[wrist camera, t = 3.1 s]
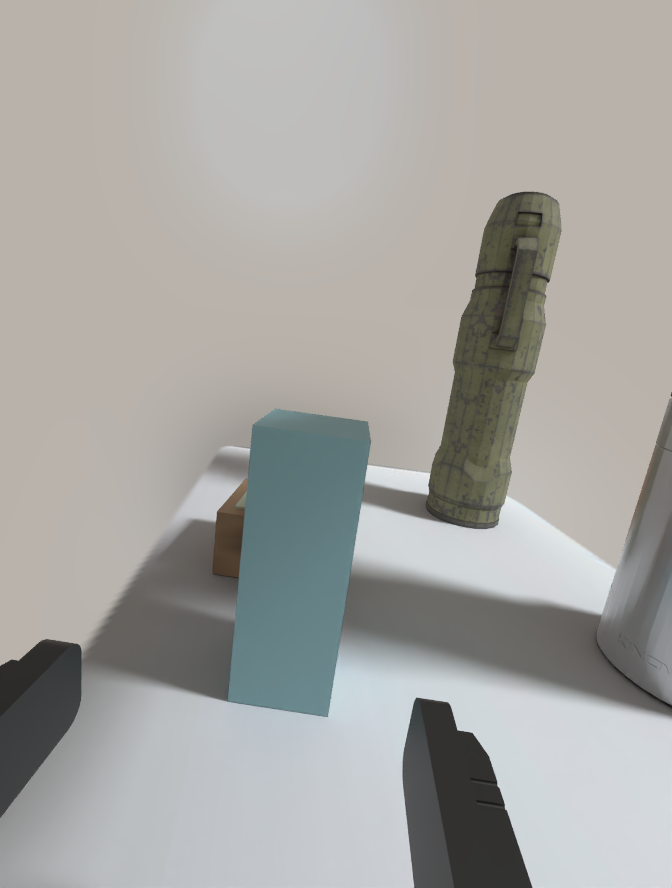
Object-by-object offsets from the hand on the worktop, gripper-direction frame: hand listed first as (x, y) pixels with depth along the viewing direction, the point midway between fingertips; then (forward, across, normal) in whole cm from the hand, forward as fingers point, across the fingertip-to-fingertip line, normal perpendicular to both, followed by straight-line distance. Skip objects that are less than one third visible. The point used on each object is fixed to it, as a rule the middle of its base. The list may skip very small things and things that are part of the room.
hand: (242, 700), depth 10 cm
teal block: (+12, 0, +9) cm, 15 cm away
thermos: (+41, -17, +9) cm, 45 cm away
